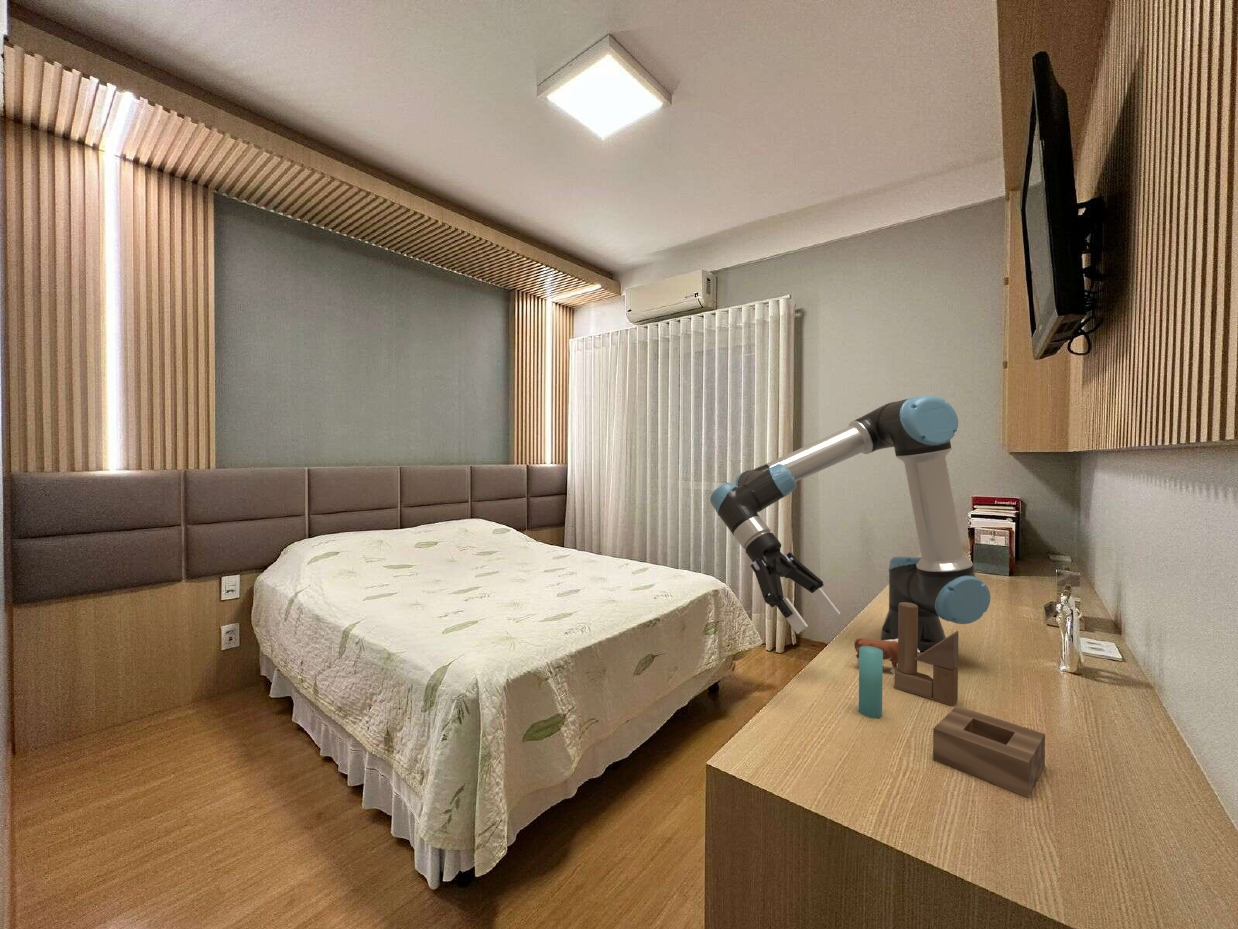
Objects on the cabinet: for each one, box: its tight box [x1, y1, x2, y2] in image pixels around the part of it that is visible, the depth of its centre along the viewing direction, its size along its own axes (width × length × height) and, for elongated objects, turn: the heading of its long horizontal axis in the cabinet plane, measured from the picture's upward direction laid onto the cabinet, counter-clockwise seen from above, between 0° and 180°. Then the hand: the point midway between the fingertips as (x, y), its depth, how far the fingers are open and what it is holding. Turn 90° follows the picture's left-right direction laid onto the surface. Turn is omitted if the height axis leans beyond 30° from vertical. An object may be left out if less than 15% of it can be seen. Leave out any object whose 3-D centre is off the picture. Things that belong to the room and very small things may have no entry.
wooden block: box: [893, 602, 959, 707], centre depth 103 cm, size 4×11×18 cm, turn 42°
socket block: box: [932, 705, 1046, 798], centre depth 79 cm, size 12×12×5 cm
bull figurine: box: [853, 637, 921, 675], centre depth 115 cm, size 4×13×8 cm, turn 71°
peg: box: [858, 646, 884, 719], centre depth 95 cm, size 4×4×12 cm
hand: (819, 623), depth 103 cm, fingers open, 13 cm apart
